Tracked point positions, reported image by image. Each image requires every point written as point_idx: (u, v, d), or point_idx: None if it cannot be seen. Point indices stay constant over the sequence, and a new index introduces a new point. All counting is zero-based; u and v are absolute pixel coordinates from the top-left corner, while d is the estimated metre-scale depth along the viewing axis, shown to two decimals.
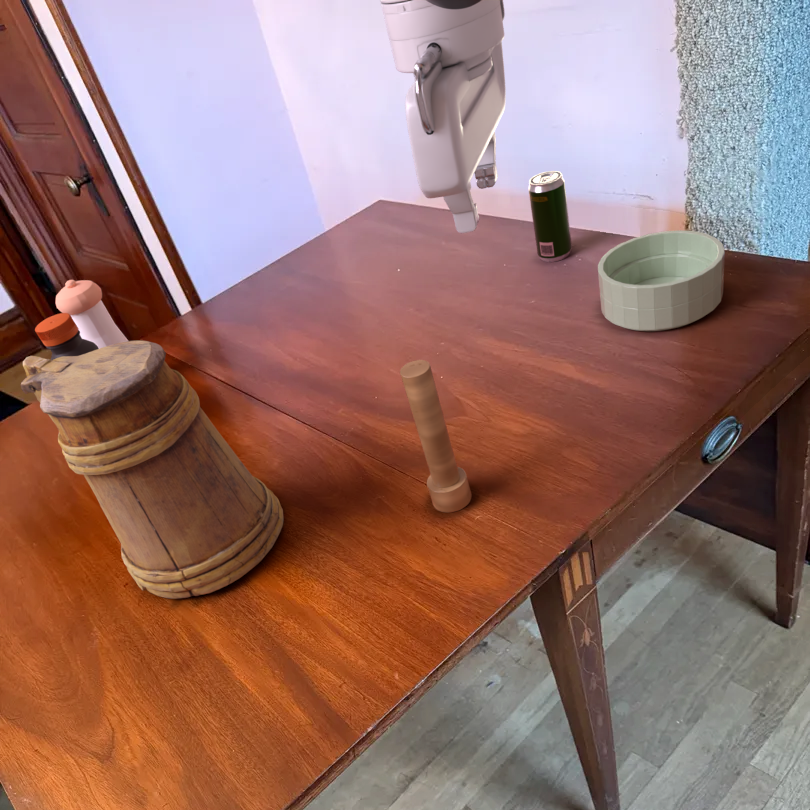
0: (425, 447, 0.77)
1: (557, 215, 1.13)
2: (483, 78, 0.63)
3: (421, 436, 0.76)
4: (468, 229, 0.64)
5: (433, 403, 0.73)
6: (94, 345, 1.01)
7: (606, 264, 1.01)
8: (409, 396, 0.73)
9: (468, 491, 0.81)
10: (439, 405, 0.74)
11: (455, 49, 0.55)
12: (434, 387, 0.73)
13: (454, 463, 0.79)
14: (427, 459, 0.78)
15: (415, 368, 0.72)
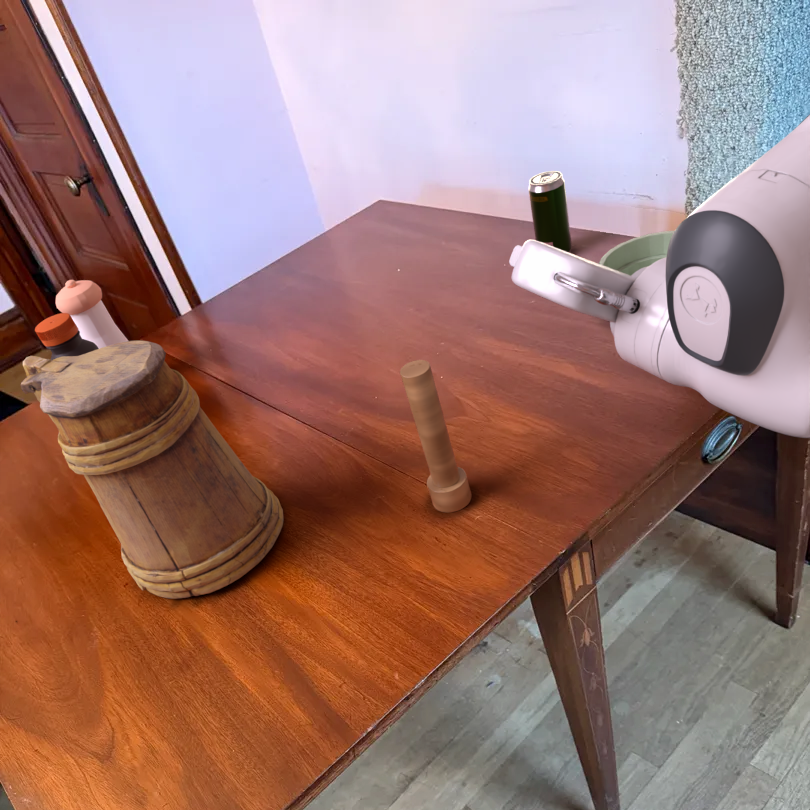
0: (425, 447, 0.77)
1: (557, 215, 1.13)
2: None
3: (421, 436, 0.76)
4: (512, 257, 0.66)
5: (433, 403, 0.73)
6: (94, 345, 1.01)
7: (606, 264, 1.01)
8: (409, 396, 0.73)
9: (468, 491, 0.81)
10: (439, 405, 0.74)
11: (623, 325, 0.59)
12: (434, 387, 0.73)
13: (454, 463, 0.79)
14: (427, 459, 0.78)
15: (415, 368, 0.72)
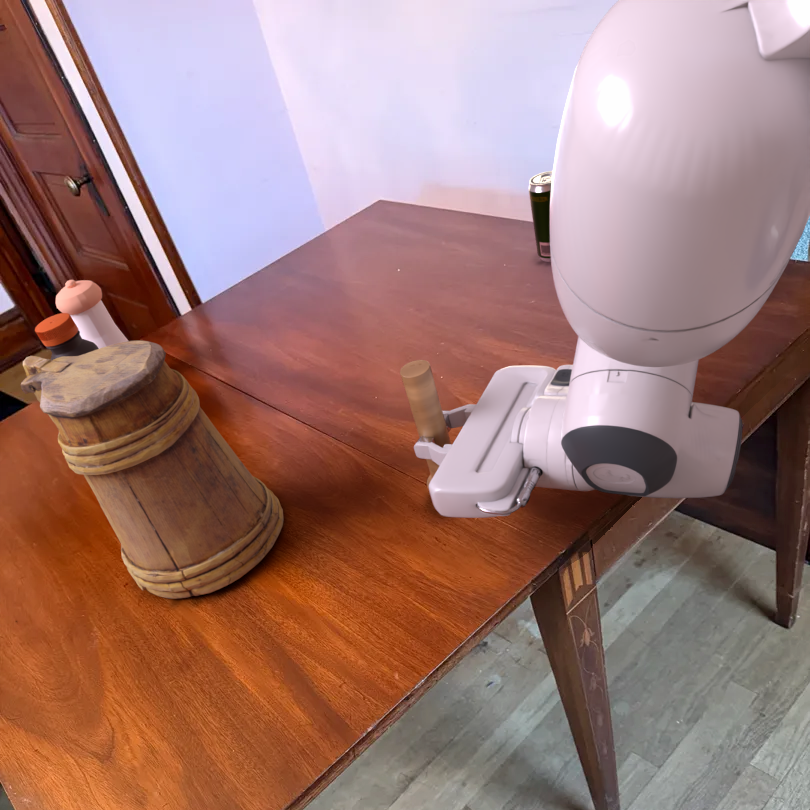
0: None
1: None
2: None
3: None
4: (417, 453, 0.76)
5: (433, 403, 0.73)
6: (94, 345, 1.01)
7: None
8: (409, 396, 0.73)
9: None
10: (439, 405, 0.74)
11: (537, 482, 0.70)
12: (434, 387, 0.73)
13: None
14: (427, 459, 0.78)
15: (415, 368, 0.72)
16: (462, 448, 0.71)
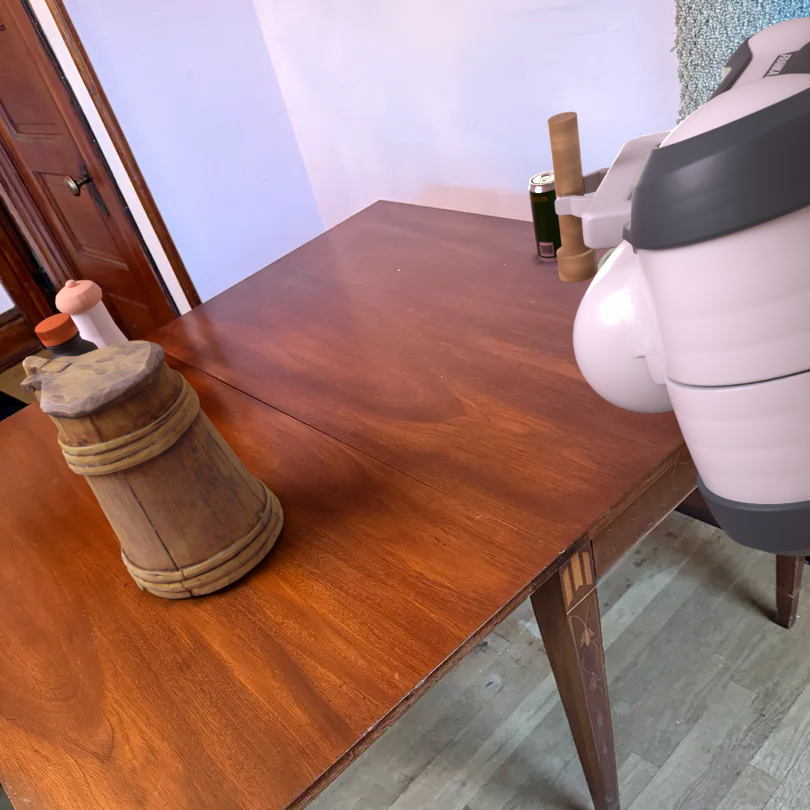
0: None
1: (557, 215, 1.13)
2: None
3: None
4: (557, 209, 0.80)
5: (577, 154, 0.78)
6: (94, 345, 1.01)
7: None
8: (555, 147, 0.77)
9: (596, 261, 0.86)
10: (580, 159, 0.79)
11: None
12: (578, 138, 0.77)
13: None
14: (562, 223, 0.83)
15: (562, 117, 0.76)
16: (609, 189, 0.76)
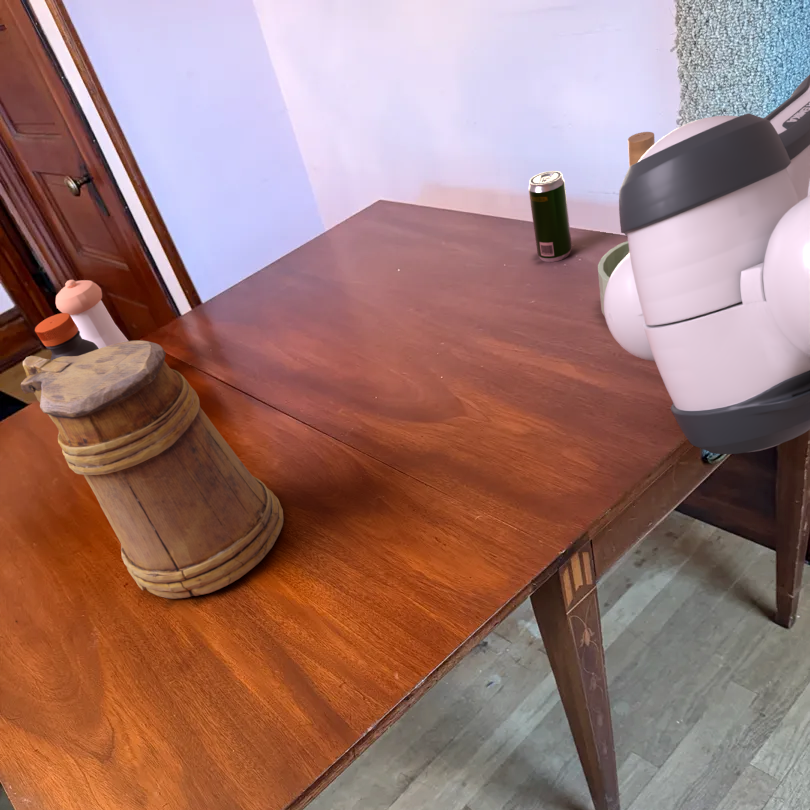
0: None
1: (557, 215, 1.13)
2: None
3: None
4: None
5: None
6: (94, 345, 1.01)
7: (606, 264, 1.01)
8: (634, 162, 0.89)
9: None
10: None
11: None
12: None
13: None
14: None
15: (641, 136, 0.88)
16: None
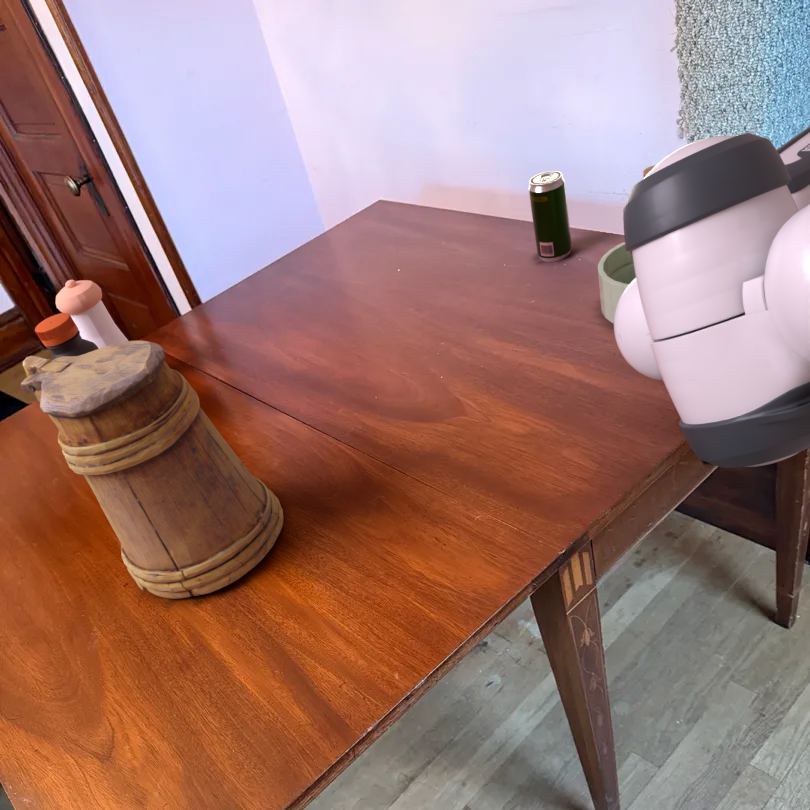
0: None
1: (557, 215, 1.13)
2: None
3: None
4: None
5: None
6: (94, 345, 1.01)
7: (606, 264, 1.01)
8: None
9: None
10: None
11: None
12: None
13: None
14: None
15: None
16: None
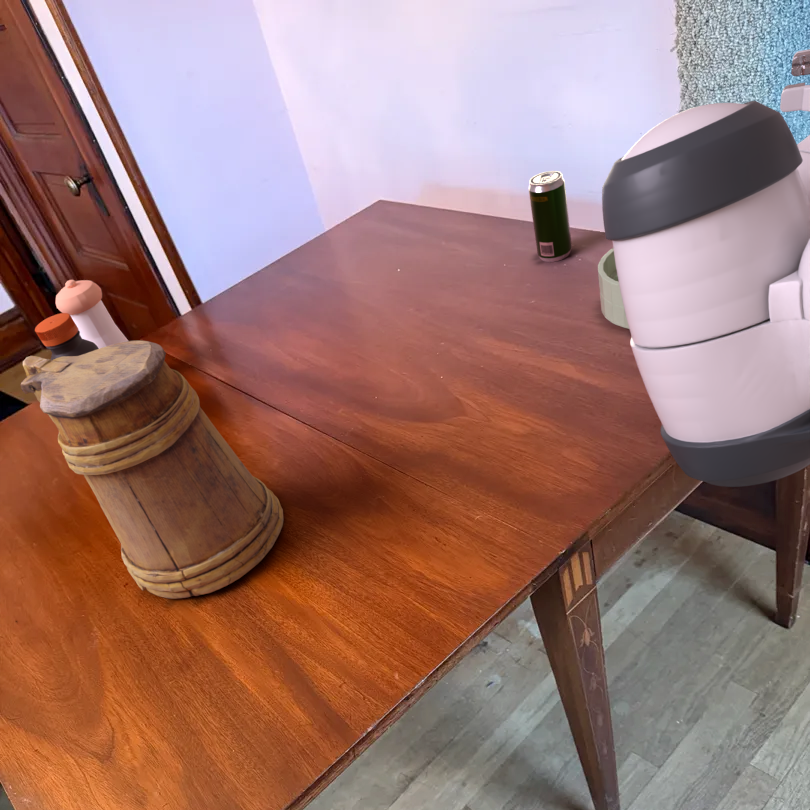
0: None
1: (557, 215, 1.13)
2: None
3: None
4: (783, 104, 0.67)
5: None
6: (94, 345, 1.01)
7: (606, 264, 1.01)
8: None
9: None
10: None
11: None
12: None
13: None
14: None
15: None
16: None
